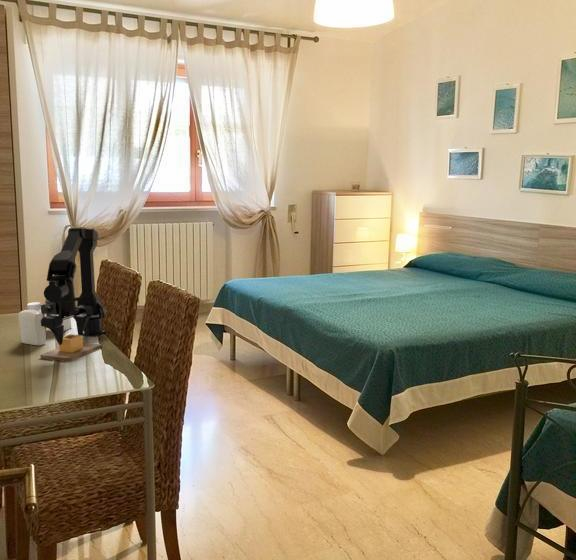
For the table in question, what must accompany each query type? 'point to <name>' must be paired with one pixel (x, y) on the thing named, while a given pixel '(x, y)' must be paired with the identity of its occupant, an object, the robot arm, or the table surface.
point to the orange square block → (71, 343)
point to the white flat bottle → (31, 327)
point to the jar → (65, 322)
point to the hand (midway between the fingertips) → (70, 340)
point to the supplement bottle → (36, 309)
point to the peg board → (69, 356)
